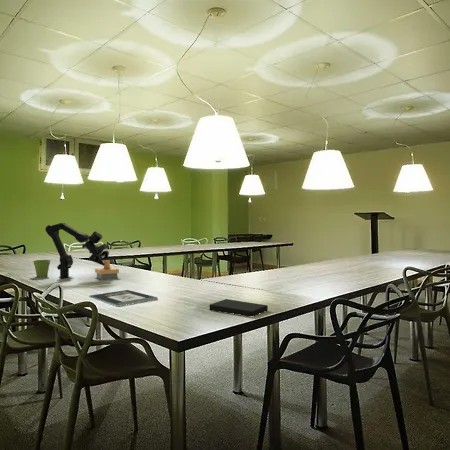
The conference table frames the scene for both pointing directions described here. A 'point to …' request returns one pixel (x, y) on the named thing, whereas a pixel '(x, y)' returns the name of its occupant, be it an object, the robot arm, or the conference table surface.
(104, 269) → the lid
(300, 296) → the conference table surface
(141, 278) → the conference table surface
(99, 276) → the storage box
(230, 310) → the external hard drive
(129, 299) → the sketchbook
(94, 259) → the robot arm
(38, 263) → the plant pot
